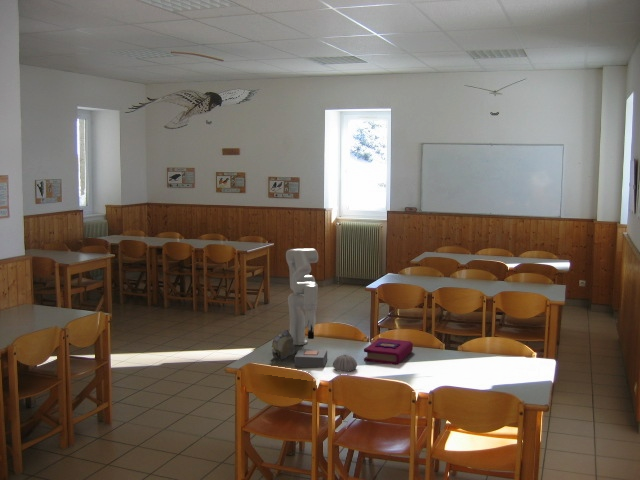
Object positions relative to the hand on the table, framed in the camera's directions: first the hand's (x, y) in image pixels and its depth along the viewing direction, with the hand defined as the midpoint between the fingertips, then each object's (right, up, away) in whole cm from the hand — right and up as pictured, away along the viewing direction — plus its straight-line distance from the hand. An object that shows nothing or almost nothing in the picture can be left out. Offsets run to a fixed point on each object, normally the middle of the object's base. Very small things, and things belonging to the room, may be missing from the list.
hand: (310, 338), depth 375 cm
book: (+45, -13, +12) cm, 48 cm away
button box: (0, -14, +1) cm, 14 cm away
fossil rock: (-18, -13, +14) cm, 26 cm away
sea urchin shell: (+19, -15, -12) cm, 27 cm away
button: (0, -11, +1) cm, 11 cm away
